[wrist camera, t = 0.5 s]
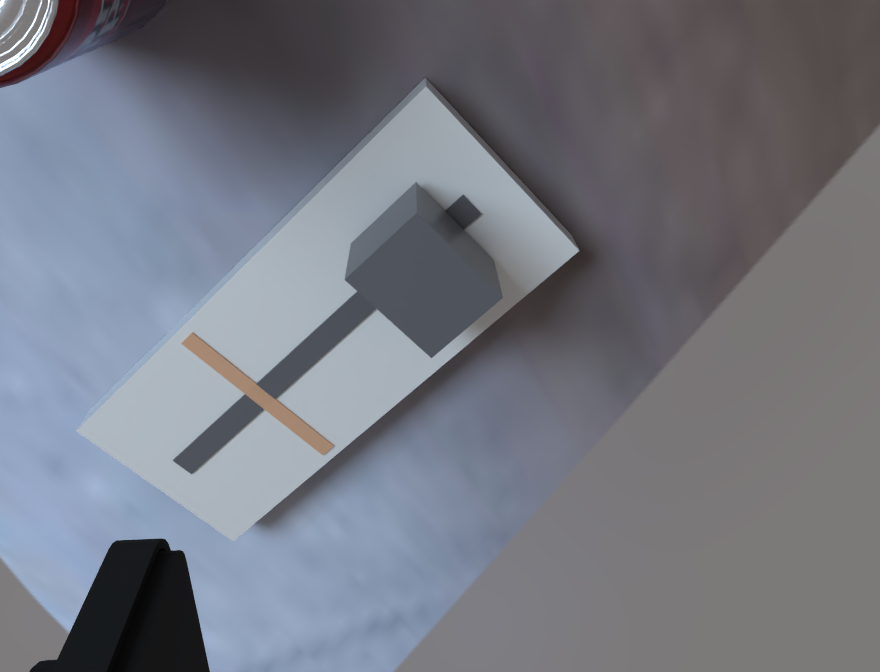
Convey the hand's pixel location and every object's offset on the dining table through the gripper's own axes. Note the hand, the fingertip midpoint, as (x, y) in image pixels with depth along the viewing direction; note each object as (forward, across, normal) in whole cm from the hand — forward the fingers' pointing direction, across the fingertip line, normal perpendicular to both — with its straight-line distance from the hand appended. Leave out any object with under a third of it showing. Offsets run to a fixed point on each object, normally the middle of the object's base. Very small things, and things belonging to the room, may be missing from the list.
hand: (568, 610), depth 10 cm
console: (+29, +6, +10) cm, 32 cm away
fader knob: (+27, +1, +6) cm, 27 cm away
